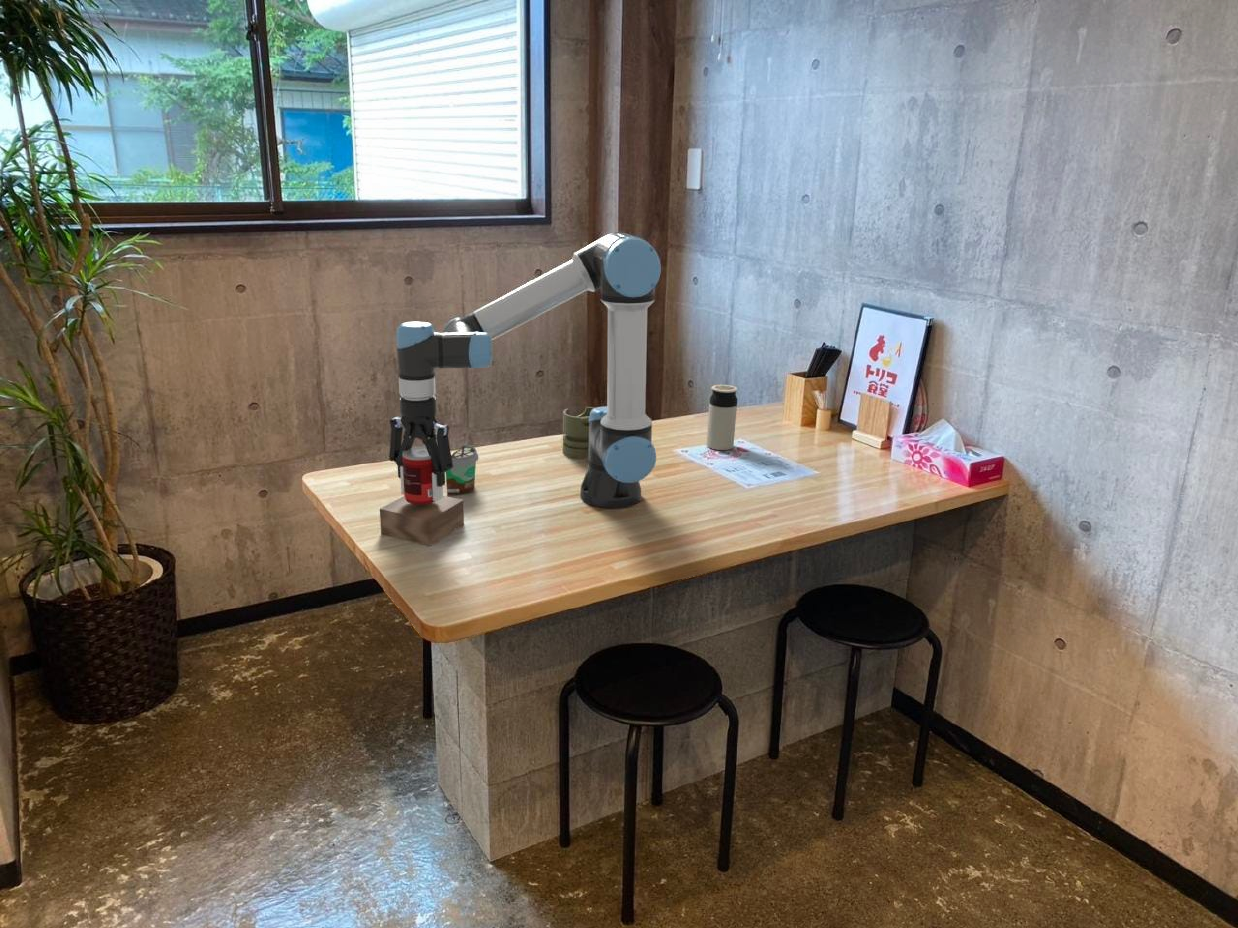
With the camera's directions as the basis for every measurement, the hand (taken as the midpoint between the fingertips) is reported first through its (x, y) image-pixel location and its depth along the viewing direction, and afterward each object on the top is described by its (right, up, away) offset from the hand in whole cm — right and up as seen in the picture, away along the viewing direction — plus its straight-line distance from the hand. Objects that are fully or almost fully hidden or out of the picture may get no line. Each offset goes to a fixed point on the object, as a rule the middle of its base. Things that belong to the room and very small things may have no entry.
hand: (422, 495), depth 195 cm
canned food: (0, -1, 0) cm, 1 cm away
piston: (+33, +10, +56) cm, 66 cm away
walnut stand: (0, -8, +3) cm, 8 cm away
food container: (+5, 0, +26) cm, 27 cm away
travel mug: (+73, +12, +66) cm, 99 cm away
